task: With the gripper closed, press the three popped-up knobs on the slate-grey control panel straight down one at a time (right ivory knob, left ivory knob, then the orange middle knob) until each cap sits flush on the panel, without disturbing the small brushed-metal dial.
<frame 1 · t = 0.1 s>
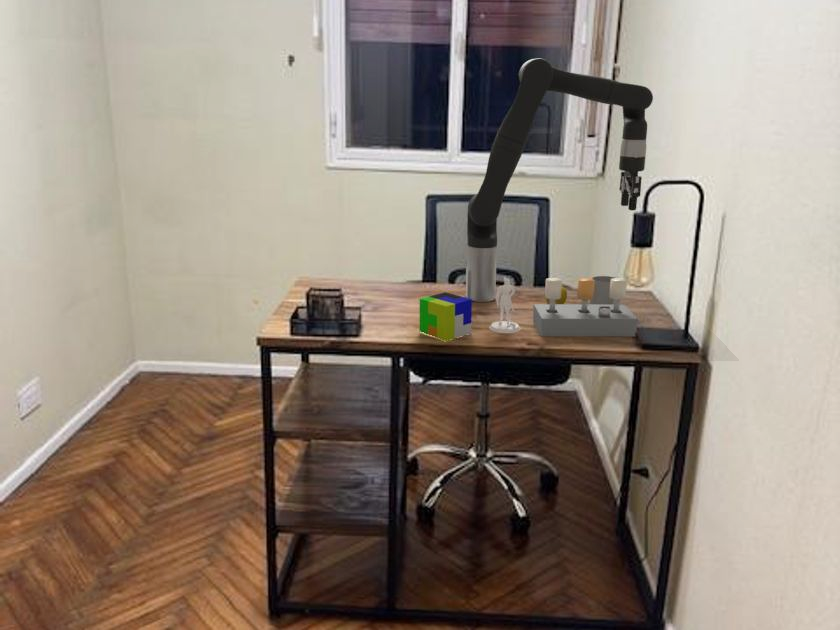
hand: (628, 207, 234), 29 cm above the table, fingers open, 8 cm apart
panel: (582, 328, 213), on the table
puzzle toy: (445, 334, 207), on the table
dial: (604, 316, 207), point 5 cm above the table, touching panel
knob middle: (585, 295, 210), point 10 cm above the table, slide at 4.0 cm
knob left: (552, 295, 210), point 10 cm above the table, slide at 4.0 cm
knob right: (617, 295, 210), point 10 cm above the table, slide at 4.0 cm
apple: (555, 309, 232), on the table
figurine: (504, 329, 212), on the table
cup: (603, 311, 229), on the table
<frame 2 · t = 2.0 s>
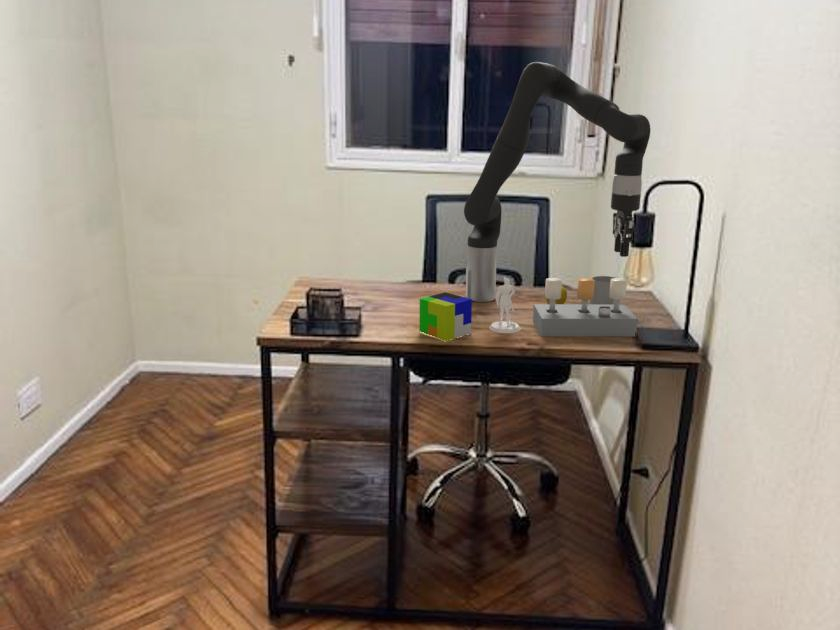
hand: (621, 253, 206), 21 cm above the table, fingers open, 5 cm apart
nothing on the table moved.
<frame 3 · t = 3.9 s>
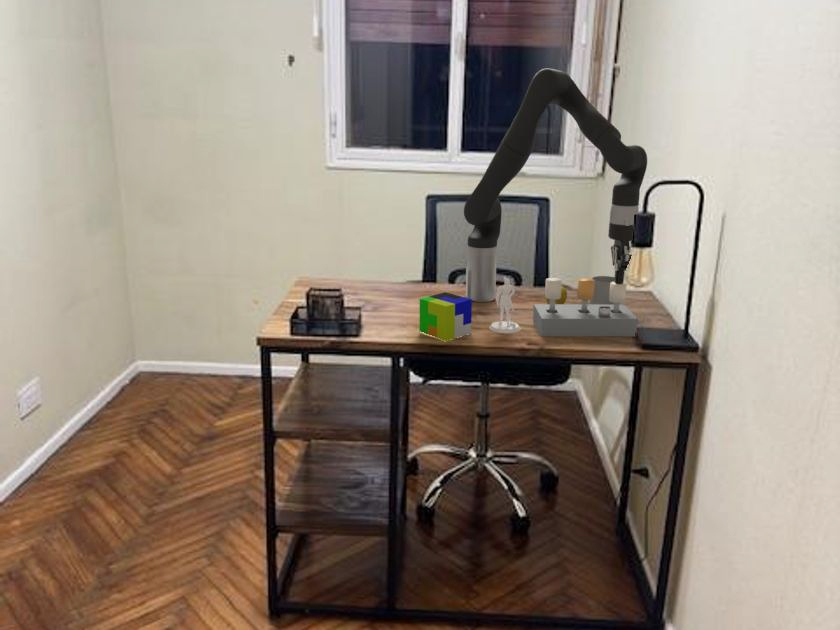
hand: (618, 283, 209), 13 cm above the table, fingers closed
knob right: (617, 299, 210), point 9 cm above the table, slide at 3.0 cm, touching gripper
everything else where it was.
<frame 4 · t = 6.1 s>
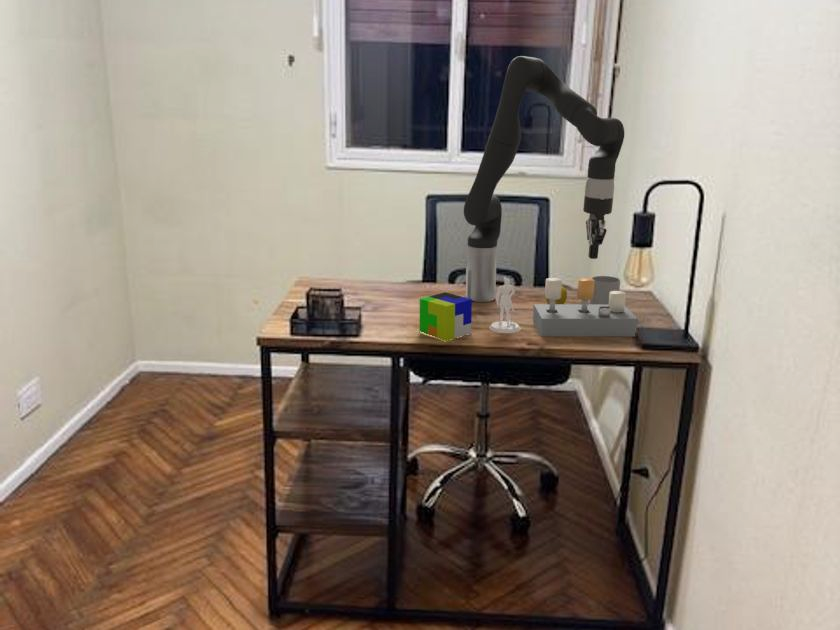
hand: (592, 258, 207), 20 cm above the table, fingers closed
knob right: (616, 308, 211), point 6 cm above the table, slide at 0.3 cm
everything else where it was.
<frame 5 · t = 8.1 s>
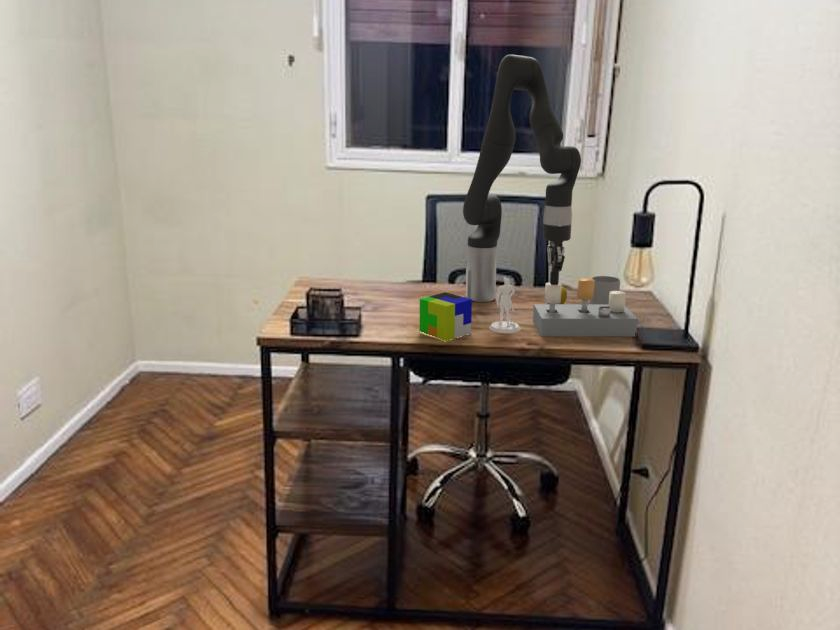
hand: (553, 284, 209), 13 cm above the table, fingers closed
knob left: (552, 300, 210), point 8 cm above the table, slide at 2.7 cm, touching gripper
everything else where it was.
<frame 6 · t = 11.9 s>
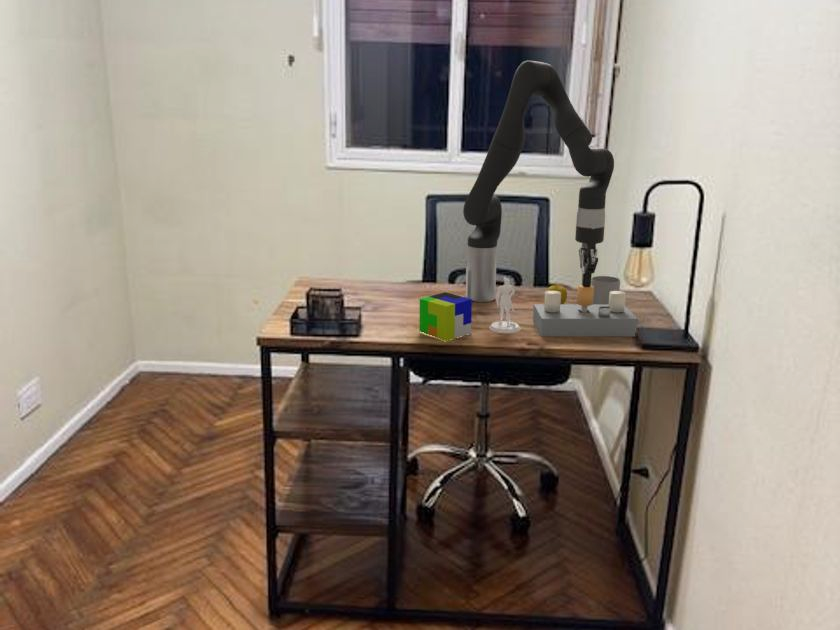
hand: (586, 286, 209), 12 cm above the table, fingers closed
knob middle: (584, 302, 210), point 8 cm above the table, slide at 2.1 cm, touching gripper
knob left: (552, 308, 211), point 6 cm above the table, slide at 0.3 cm
everything else where it was.
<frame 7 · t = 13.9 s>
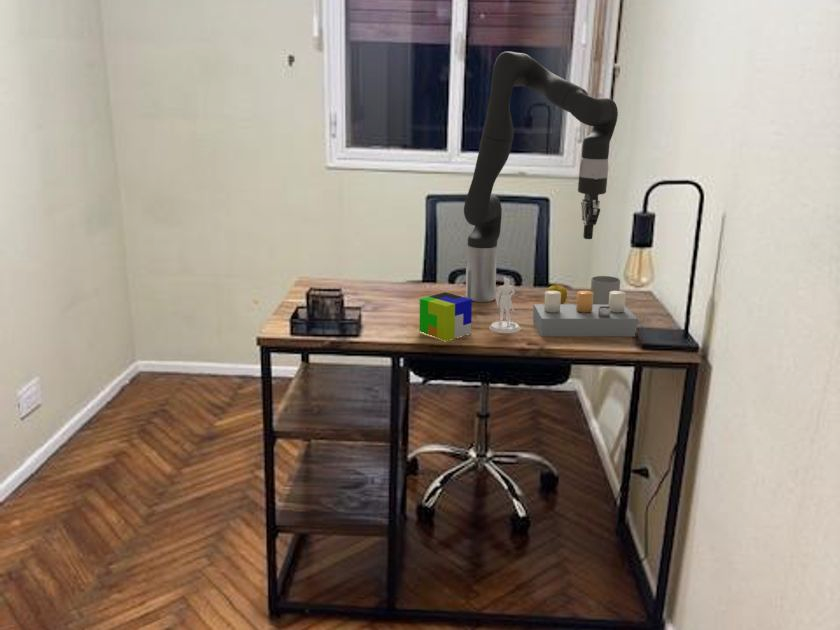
hand: (587, 238, 208), 25 cm above the table, fingers closed
knob middle: (584, 308, 211), point 6 cm above the table, slide at 0.3 cm
everything else where it was.
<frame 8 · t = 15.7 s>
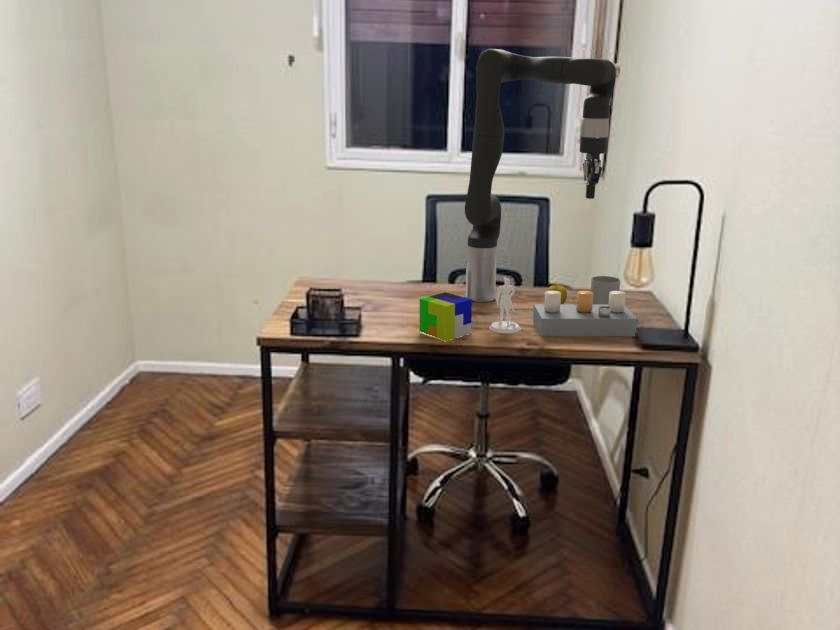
hand: (589, 198, 213), 35 cm above the table, fingers closed
nothing on the table moved.
at the end: knob right slide at 0.3 cm; knob left slide at 0.3 cm; knob middle slide at 0.3 cm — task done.
